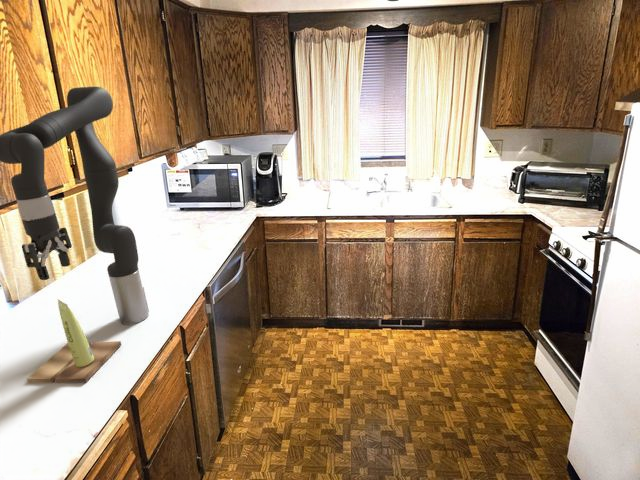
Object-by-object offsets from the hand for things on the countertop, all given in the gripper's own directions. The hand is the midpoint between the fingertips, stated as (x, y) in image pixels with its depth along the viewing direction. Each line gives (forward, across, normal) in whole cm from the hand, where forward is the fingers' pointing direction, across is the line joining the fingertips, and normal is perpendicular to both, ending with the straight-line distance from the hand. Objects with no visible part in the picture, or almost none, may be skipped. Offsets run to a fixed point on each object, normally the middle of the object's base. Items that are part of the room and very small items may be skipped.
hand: (55, 272), depth 118 cm
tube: (+28, +1, +1) cm, 28 cm away
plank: (+29, -1, +2) cm, 29 cm away
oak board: (+29, -1, -8) cm, 30 cm away
